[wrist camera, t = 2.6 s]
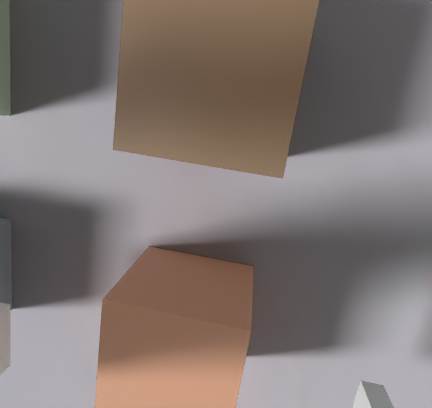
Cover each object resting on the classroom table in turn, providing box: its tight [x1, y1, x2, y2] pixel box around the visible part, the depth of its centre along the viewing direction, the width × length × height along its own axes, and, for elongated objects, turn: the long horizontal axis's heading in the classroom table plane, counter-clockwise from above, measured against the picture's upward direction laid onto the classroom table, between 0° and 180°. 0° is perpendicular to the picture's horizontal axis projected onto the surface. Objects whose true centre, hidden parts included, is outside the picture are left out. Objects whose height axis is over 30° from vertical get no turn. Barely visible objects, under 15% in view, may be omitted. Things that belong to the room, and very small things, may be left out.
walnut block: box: [113, 0, 319, 178], centre depth 11 cm, size 5×5×5 cm
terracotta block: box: [95, 246, 254, 408], centre depth 14 cm, size 5×5×5 cm
